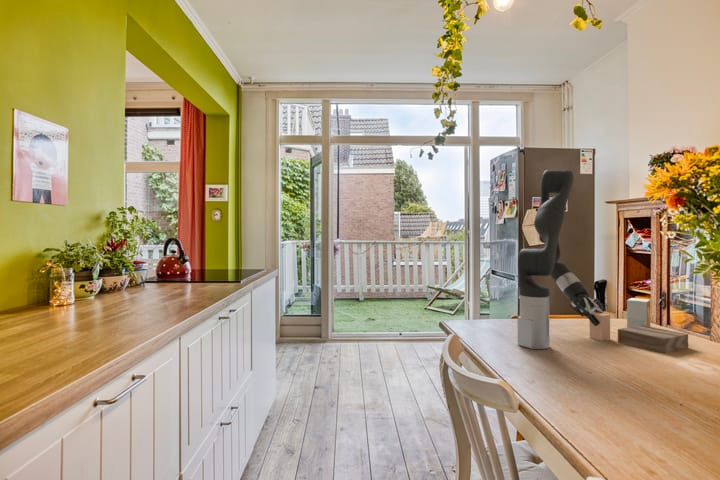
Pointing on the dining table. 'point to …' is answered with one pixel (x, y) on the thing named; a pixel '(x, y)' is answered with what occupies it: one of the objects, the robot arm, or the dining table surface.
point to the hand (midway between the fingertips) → (602, 323)
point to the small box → (638, 312)
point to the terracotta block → (600, 327)
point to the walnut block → (653, 338)
